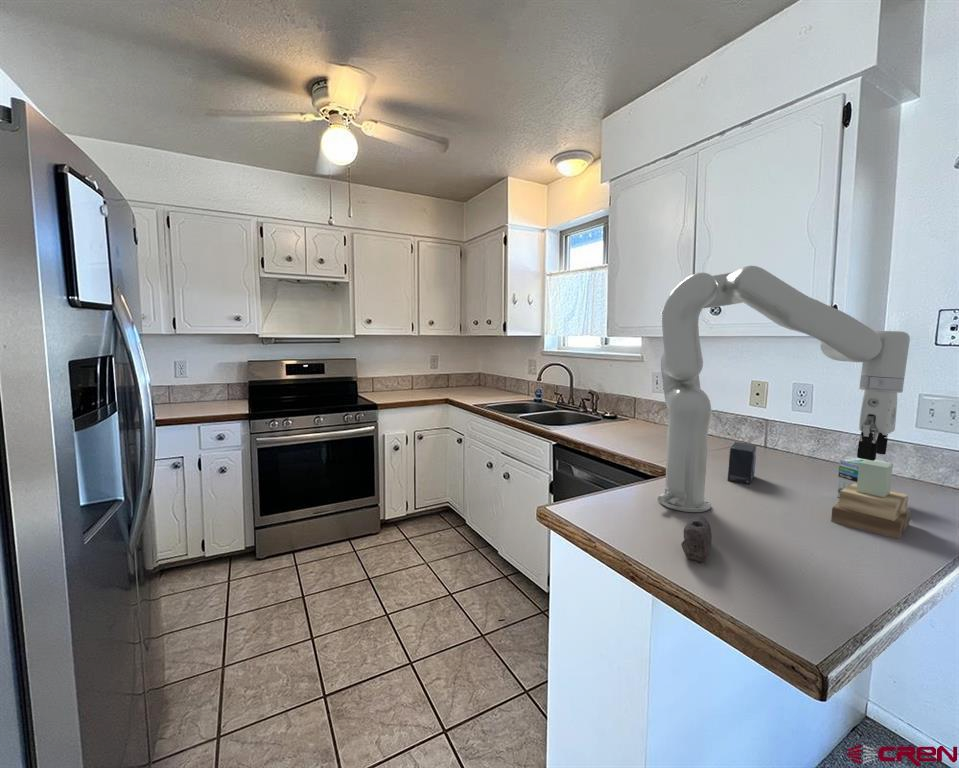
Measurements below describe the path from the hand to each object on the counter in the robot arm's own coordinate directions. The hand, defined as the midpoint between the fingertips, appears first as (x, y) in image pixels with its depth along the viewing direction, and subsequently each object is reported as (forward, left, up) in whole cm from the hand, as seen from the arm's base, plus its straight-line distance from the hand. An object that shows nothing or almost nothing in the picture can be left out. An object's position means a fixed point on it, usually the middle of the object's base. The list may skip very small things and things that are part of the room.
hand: (871, 456), depth 105 cm
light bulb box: (+18, +4, -16) cm, 25 cm away
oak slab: (0, -1, -13) cm, 13 cm away
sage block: (0, -1, -9) cm, 9 cm away
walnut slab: (0, -1, -17) cm, 17 cm away
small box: (+11, +32, -16) cm, 38 cm away
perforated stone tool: (-46, +17, -17) cm, 52 cm away
